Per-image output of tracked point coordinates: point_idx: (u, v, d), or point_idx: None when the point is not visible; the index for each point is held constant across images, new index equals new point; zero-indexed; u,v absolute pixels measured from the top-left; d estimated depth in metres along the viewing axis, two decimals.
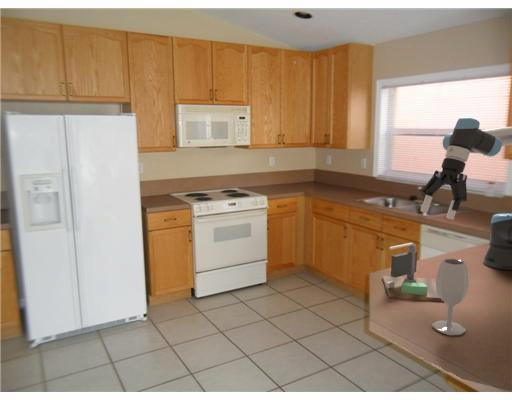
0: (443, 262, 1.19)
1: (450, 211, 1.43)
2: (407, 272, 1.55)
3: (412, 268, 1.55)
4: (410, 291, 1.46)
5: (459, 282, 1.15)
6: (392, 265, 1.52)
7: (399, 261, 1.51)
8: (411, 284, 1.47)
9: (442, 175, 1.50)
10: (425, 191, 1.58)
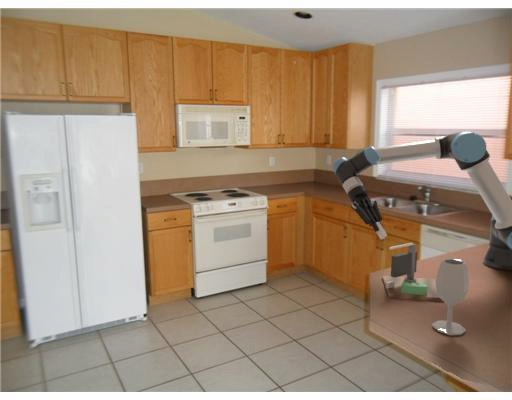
0: (443, 262, 1.19)
1: (378, 233, 1.61)
2: (407, 272, 1.55)
3: (412, 268, 1.55)
4: (410, 291, 1.46)
5: (459, 282, 1.15)
6: (392, 265, 1.52)
7: (399, 261, 1.51)
8: (411, 284, 1.47)
9: None
10: None
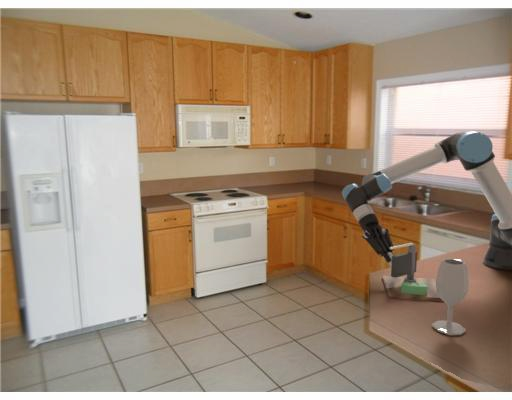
0: (443, 262, 1.19)
1: (390, 264, 1.57)
2: (407, 272, 1.55)
3: (412, 268, 1.55)
4: (410, 291, 1.46)
5: (459, 282, 1.15)
6: (392, 265, 1.51)
7: (399, 261, 1.51)
8: (411, 284, 1.47)
9: None
10: None
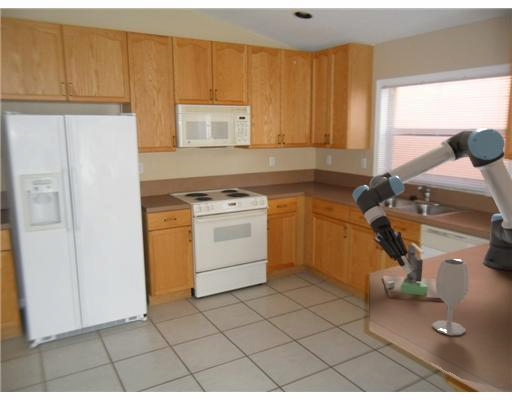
0: (443, 262, 1.19)
1: (403, 268, 1.52)
2: None
3: None
4: (410, 291, 1.46)
5: (459, 282, 1.15)
6: (418, 269, 1.47)
7: None
8: (411, 284, 1.47)
9: None
10: None
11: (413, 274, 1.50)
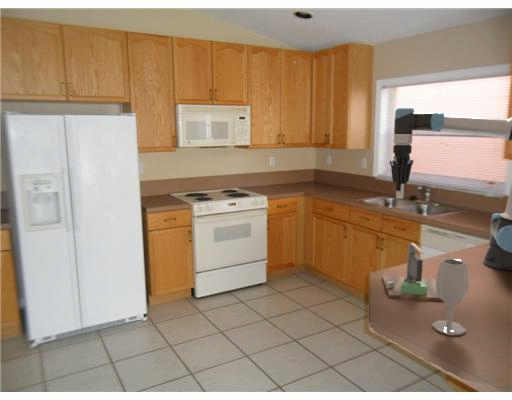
0: (443, 262, 1.19)
1: (397, 192, 1.81)
2: None
3: None
4: (410, 291, 1.46)
5: (459, 282, 1.15)
6: (418, 269, 1.47)
7: None
8: (411, 284, 1.47)
9: None
10: None
11: (413, 274, 1.50)
